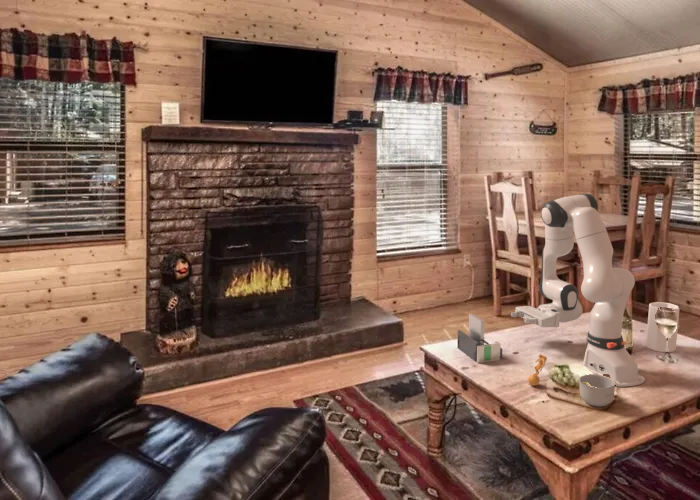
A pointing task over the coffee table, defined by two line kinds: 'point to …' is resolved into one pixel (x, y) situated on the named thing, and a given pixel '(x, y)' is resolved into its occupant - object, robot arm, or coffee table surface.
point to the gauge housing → (478, 349)
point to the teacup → (597, 389)
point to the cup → (654, 336)
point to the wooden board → (476, 329)
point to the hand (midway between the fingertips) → (518, 318)
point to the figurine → (534, 378)
